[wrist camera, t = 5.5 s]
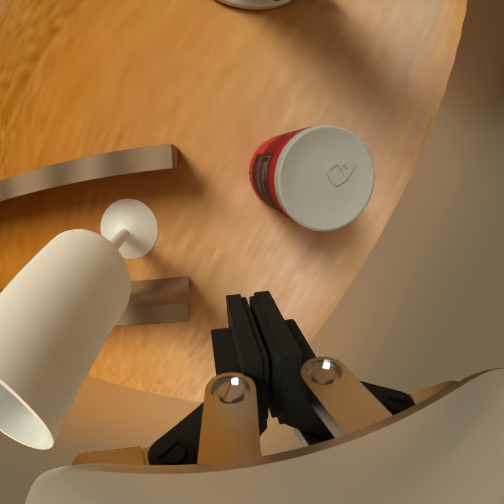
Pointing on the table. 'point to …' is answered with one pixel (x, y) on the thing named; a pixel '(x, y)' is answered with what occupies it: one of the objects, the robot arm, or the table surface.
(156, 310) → the walnut U-rest
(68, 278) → the champagne flute
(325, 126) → the canned food
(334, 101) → the table surface
